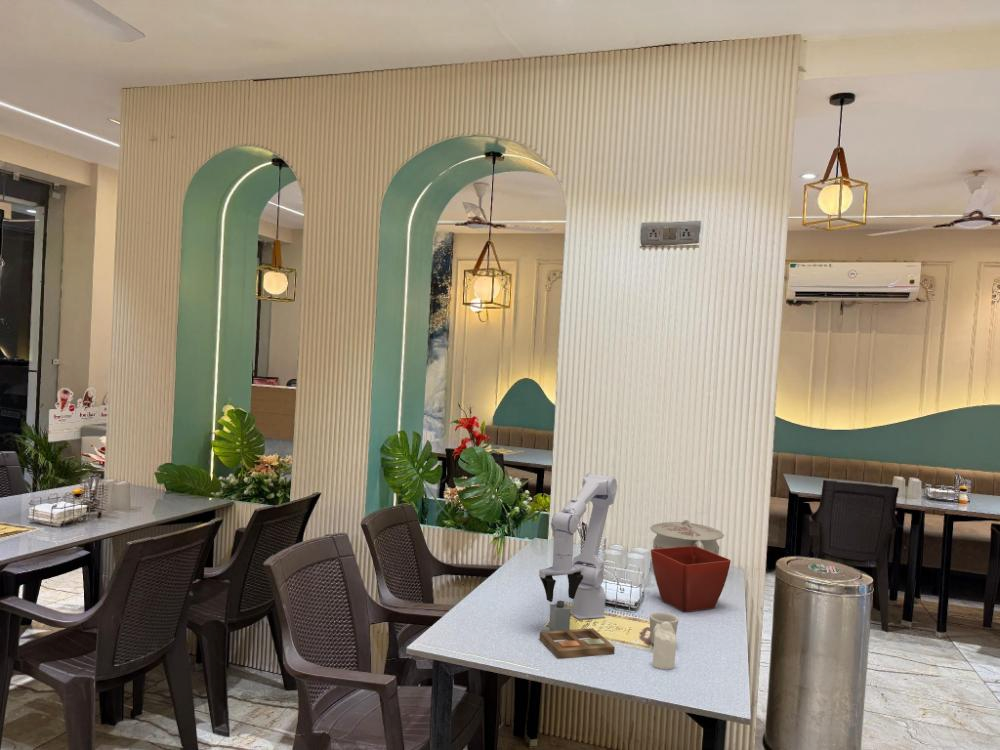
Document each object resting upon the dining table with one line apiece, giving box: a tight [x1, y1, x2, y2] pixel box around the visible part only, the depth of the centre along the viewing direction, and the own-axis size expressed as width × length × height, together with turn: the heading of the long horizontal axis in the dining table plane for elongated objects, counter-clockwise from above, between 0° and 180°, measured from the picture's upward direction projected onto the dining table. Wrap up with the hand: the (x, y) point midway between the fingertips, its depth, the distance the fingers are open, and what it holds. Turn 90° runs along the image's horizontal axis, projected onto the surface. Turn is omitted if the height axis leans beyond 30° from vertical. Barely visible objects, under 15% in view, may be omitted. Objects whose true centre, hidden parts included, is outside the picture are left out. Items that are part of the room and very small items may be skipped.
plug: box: [548, 600, 571, 631], centre depth 219 cm, size 4×4×8 cm
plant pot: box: [650, 546, 732, 613], centre depth 248 cm, size 19×19×17 cm
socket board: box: [539, 628, 616, 660], centre depth 207 cm, size 16×14×2 cm
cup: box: [649, 611, 679, 645], centre depth 210 cm, size 11×8×8 cm
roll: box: [652, 621, 677, 670], centre depth 197 cm, size 6×12×6 cm
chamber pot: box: [649, 519, 725, 556], centre depth 285 cm, size 28×28×21 cm
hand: (560, 599), depth 219 cm, fingers open, 7 cm apart
